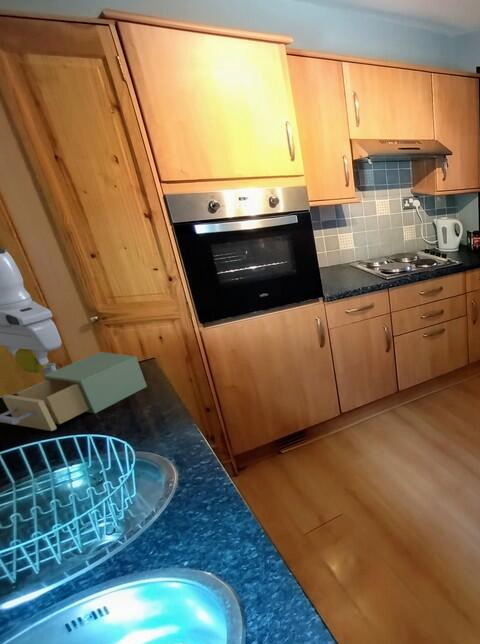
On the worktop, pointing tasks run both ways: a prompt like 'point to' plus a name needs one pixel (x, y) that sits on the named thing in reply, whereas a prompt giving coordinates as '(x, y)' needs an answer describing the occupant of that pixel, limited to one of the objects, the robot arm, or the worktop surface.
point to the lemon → (28, 361)
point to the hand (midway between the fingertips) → (33, 362)
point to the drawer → (45, 404)
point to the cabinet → (103, 378)
